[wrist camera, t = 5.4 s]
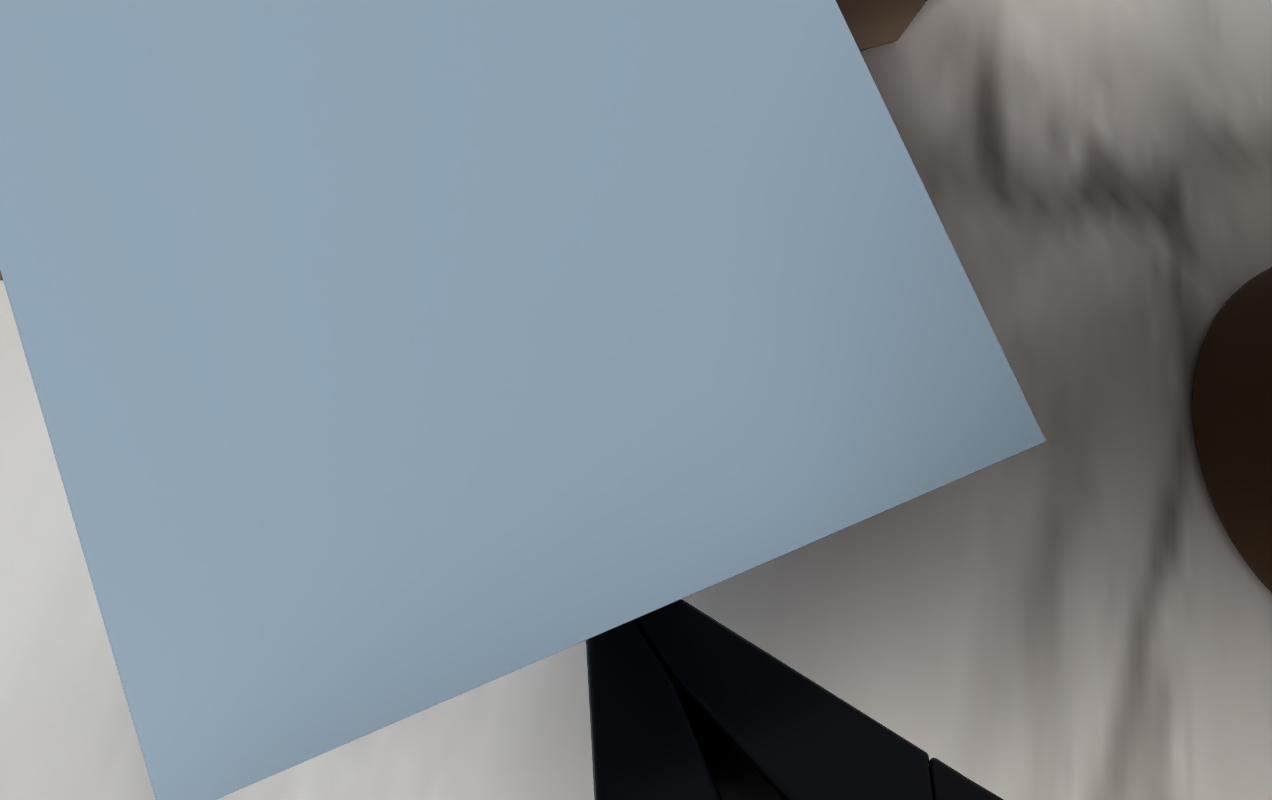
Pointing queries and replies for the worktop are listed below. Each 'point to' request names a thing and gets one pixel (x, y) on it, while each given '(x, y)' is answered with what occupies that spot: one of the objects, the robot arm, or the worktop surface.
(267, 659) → the slate block
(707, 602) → the worktop surface
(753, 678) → the robot arm
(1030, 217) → the worktop surface
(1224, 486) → the olive oil
